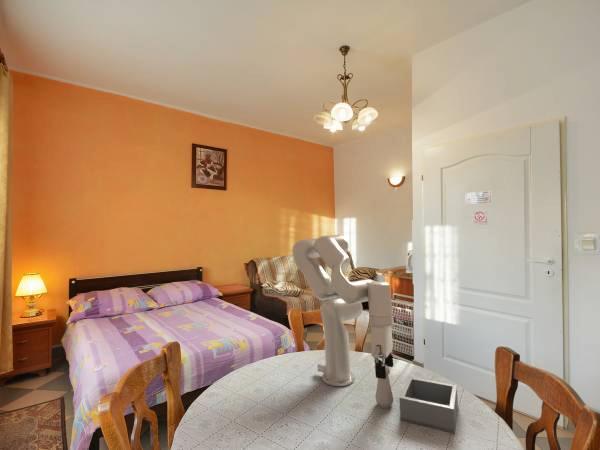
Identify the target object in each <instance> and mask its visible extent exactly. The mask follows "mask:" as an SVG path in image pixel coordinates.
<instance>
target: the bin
mask: <svg viewBox="0 0 600 450" xmlns="http://www.w3.org/2000/svg"><path fill="white" fill-rule="evenodd" d="M458 409H459V401H458V384H450V383H445V382H440V381H434V380H428V379H423V378H417V377H412V376H409V377H408V378H407V380H406V382H405V384H404V387H403V389H402V391H401V394H400V396H399V413H400V414H399V415H400V416H399V418H400V422H404V423H407V424H409V423H410V424H413V425H417V426H421V427H424V428H429V429H433V430H436V431H437V430H438V431H442V432H445V433H449V434H454V435H455V434H456V428H457V420H458Z"/></svg>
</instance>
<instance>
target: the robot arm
mask: <svg viewBox="0 0 600 450" xmlns="http://www.w3.org/2000/svg"><path fill="white" fill-rule="evenodd" d="M348 250H349V242H348V240H347V238H346V237H345V236H343V235H341V234H333V235H332V234H330V235H321V236H319V237H318V238H304V239H300V240H297V241H296V242H295V243H294V245H293V246H292V257H293V261H294V263H295V265H296V267H297V268H298V269H299V271H300V272H301V273H302V275H303V276H304V278H305V279H306V282H307V283H308V286H309V287H310V290H312V293H313V294H314V296H315V297H316V299H317V300H319V301H324V302H323V303H322V304H321V306H320V315H321V319H322V325H323V333H324V354H325V356H324V357H325V358H324V359H325V364H322V363H318V364H317V371H318V372H320V373H323V374H322V376H321V377H322V382H323V383H325V384H327V385H329V386H332V387H346V386H349V385H351V384H353V383H354V382H355V377H356V376H355V374H354V373H353V372H351V359H350V357H351V356H350V337H349V331H348V329H347V327H346V326H345V324H344V322H347V321H351V320H355V319H358V318H359V317H361V316H362V313H363V309H364V308H363V304H362V303H365V302H368V312H369V315H368V317H369V325H370V326H371V329H370V330H371V331H370V341H371V342H370V344H371V345H370V346H371V347H370V348H371V357H373V358H374V373H375V378H377V379H378V378H381V379H386V368H385V366H384V365H387V366H388V367H389V368H393V367H394V357H393V348H394V346H393V345H394V344H393V342H394V341H393V333H392V332H393V331H392V327H393V326H394V315H393V302H392V300H393V299H392V290H391V289H392V287H391V284H390V283H388V282H385V281H376V280H373V279H370V278H367V279H360V280H353V281H349V280H348V278H346V277H345V275H344V274H343V273H344V272H345V271H346V270H347V269H348V268H349V266H350V263H351V258H350V257H349V255H348V254H347V252H348ZM315 258H316V259H317V258H321V259H322V261H323V262H324V263H325V264H326V266H327V267H328V268H329V269H330V271H331V272H330V275H328V274H327V273H326V271H325V270H324V268H323V267H322V265H320V264H319V263H318V262H317V261H316V260H314V259H315Z"/></svg>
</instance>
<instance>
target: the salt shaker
mask: <svg viewBox="0 0 600 450" xmlns="http://www.w3.org/2000/svg"><path fill="white" fill-rule="evenodd" d="M384 366H385V368H386V379H381V378H377V382H376V391H375V400H376V403H377V405H378V407H380V408H381V409H390V408H391V407H392V406H393V403H394V396H393V390H392V386H391V381H390V378H389V375H390V373H391V370H390V367H388V366H387V365H384Z"/></svg>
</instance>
